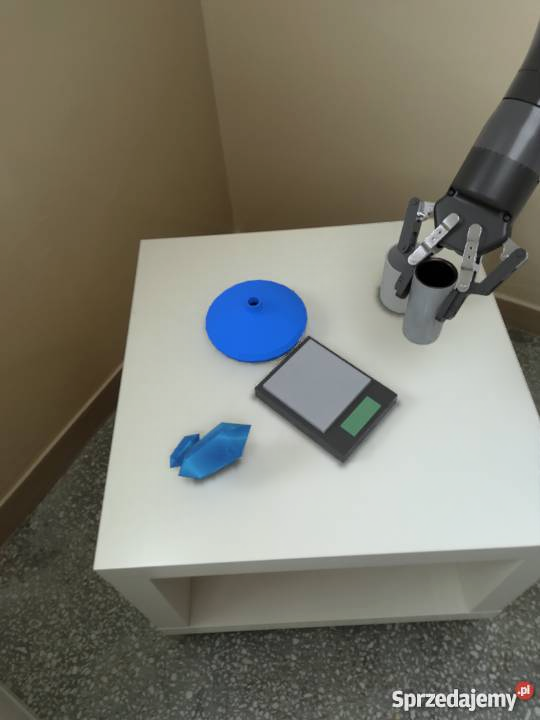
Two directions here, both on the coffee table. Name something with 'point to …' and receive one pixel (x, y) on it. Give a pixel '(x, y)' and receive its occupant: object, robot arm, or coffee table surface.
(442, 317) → the robot arm
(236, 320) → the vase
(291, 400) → the scale
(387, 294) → the cup
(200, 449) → the crystal
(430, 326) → the grey cylindrical tube
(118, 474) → the coffee table surface
